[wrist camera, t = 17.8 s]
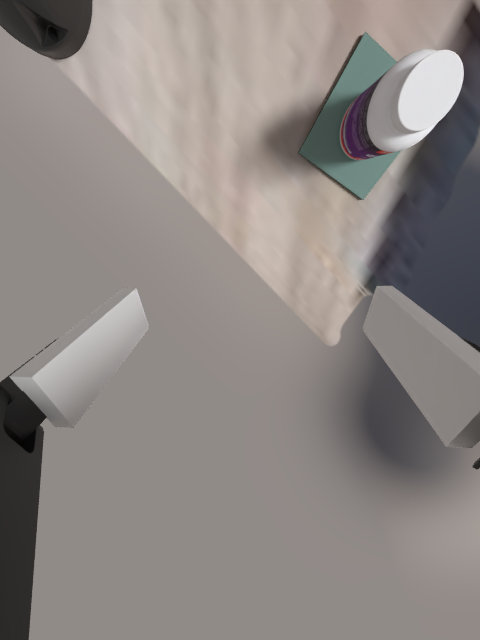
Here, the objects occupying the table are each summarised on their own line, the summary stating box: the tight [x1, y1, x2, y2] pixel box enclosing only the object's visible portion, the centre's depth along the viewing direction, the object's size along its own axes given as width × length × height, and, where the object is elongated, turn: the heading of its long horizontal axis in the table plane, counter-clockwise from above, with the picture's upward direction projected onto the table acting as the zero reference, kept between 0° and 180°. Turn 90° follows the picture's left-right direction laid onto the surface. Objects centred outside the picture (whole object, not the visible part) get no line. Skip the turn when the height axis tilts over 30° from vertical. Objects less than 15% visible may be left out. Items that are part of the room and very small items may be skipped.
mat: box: [299, 32, 401, 200], centre depth 33 cm, size 14×14×1 cm
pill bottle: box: [340, 49, 463, 160], centre depth 26 cm, size 8×8×14 cm
